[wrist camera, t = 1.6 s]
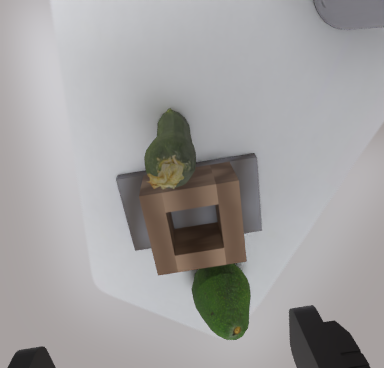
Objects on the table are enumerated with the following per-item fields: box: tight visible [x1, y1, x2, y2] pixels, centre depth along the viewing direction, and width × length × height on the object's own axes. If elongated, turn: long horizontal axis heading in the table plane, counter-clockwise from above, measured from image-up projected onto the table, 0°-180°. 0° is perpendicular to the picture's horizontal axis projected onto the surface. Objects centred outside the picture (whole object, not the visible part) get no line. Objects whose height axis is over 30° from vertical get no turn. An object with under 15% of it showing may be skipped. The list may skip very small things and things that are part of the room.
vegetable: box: [144, 108, 196, 189], centre depth 30 cm, size 4×4×20 cm
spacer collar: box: [116, 153, 262, 275], centre depth 40 cm, size 18×11×8 cm, turn 99°
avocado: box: [192, 263, 251, 340], centre depth 43 cm, size 8×8×12 cm
